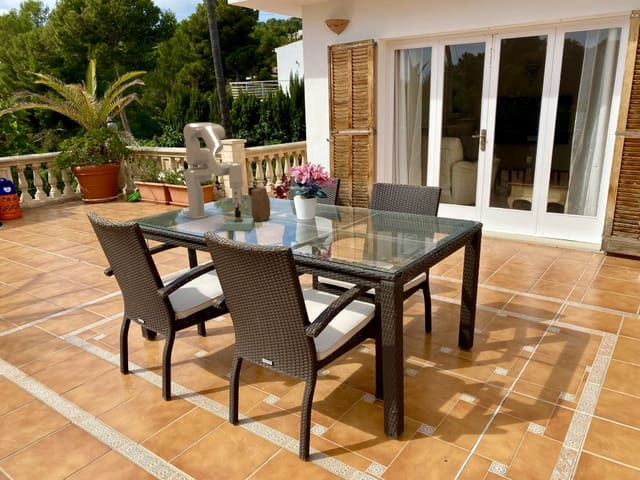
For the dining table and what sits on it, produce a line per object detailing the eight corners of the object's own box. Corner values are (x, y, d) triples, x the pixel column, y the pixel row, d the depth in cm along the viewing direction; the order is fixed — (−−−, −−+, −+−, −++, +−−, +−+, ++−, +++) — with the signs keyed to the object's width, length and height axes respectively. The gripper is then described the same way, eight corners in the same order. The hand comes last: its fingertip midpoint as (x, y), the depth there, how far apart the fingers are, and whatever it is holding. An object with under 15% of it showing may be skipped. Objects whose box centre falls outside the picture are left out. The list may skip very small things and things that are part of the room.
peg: (235, 222, 284) (234, 205, 281) (235, 221, 287) (234, 204, 285) (241, 222, 284) (240, 205, 281) (242, 220, 287) (241, 204, 285)
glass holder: (252, 208, 340) (251, 186, 336) (271, 209, 335) (270, 187, 331) (246, 211, 332) (245, 188, 328) (265, 212, 327) (264, 189, 323)
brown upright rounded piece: (258, 222, 298) (256, 189, 293) (250, 220, 303) (249, 188, 298) (272, 219, 306) (270, 187, 300) (264, 217, 311) (263, 186, 305)
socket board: (223, 231, 280) (222, 224, 279) (226, 225, 293) (226, 218, 292) (251, 230, 280) (251, 223, 279) (253, 224, 294) (253, 217, 293)
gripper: (241, 187, 272) (243, 219, 277) (244, 182, 288) (246, 213, 293) (227, 187, 272) (230, 219, 277) (231, 183, 288) (233, 213, 293)
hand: (238, 216), depth 285 cm, fingers closed on peg, 3 cm apart
